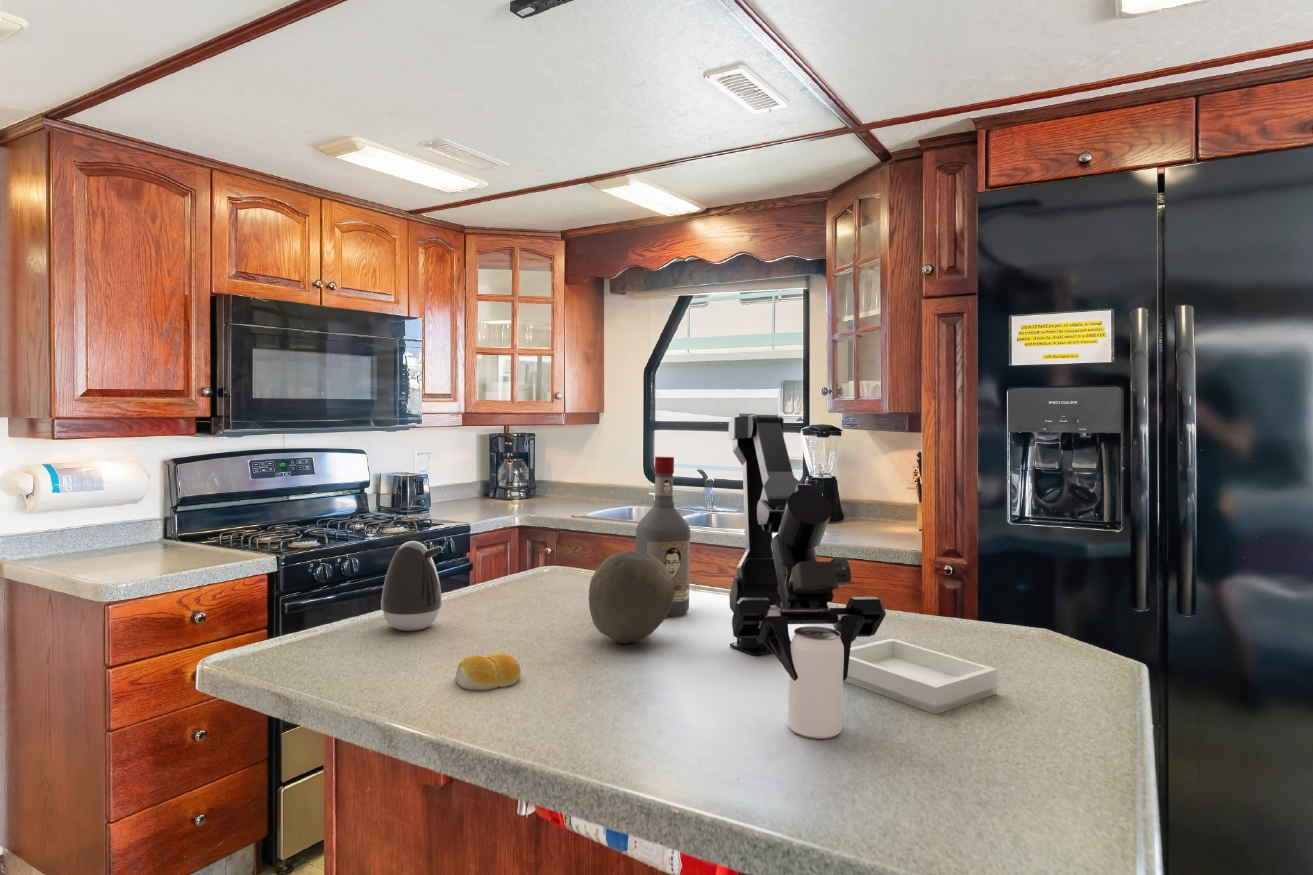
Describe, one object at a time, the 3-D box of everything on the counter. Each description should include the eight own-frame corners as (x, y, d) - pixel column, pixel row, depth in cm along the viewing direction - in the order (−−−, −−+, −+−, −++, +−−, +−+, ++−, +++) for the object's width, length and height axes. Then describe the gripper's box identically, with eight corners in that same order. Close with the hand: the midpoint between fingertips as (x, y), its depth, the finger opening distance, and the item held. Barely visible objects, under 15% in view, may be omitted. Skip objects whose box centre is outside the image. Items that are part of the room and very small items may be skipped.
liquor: (630, 608, 157) (633, 455, 156) (672, 604, 160) (675, 455, 160) (649, 619, 148) (652, 458, 147) (693, 615, 152) (696, 458, 151)
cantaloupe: (636, 658, 125) (638, 563, 124) (570, 641, 133) (571, 552, 133) (688, 639, 136) (689, 551, 135) (624, 624, 144) (625, 542, 144)
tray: (830, 675, 118) (830, 652, 118) (890, 660, 126) (891, 638, 126) (935, 714, 103) (936, 687, 103) (996, 693, 111) (997, 669, 111)
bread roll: (529, 684, 113) (530, 656, 112) (468, 696, 108) (468, 666, 107) (506, 668, 119) (507, 641, 119) (448, 678, 114) (448, 650, 114)
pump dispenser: (432, 635, 135) (433, 546, 135) (372, 634, 135) (372, 545, 135) (449, 620, 145) (450, 537, 145) (393, 619, 145) (393, 536, 145)
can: (842, 742, 94) (845, 641, 93) (786, 737, 95) (789, 637, 95) (840, 722, 100) (843, 627, 100) (788, 717, 101) (791, 623, 101)
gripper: (738, 534, 100) (756, 647, 89) (882, 534, 102) (916, 645, 91) (725, 583, 108) (740, 692, 97) (859, 582, 110) (888, 689, 99)
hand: (820, 679), depth 96 cm, fingers closed on can, 6 cm apart
